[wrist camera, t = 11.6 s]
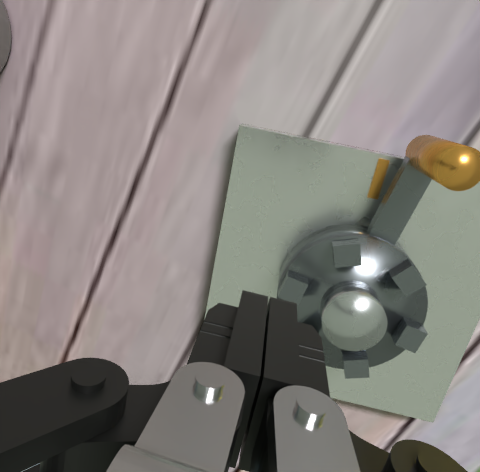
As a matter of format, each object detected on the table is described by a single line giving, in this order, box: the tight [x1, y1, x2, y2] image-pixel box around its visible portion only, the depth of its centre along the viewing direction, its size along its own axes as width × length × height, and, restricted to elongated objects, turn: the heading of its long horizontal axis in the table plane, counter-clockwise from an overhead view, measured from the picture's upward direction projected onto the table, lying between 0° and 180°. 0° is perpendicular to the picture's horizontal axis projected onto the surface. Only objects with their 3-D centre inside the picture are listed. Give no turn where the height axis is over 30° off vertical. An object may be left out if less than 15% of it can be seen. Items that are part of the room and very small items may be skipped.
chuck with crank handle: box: [277, 135, 480, 379], centre depth 29 cm, size 19×11×8 cm, turn 159°
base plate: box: [204, 124, 480, 422], centre depth 35 cm, size 22×22×2 cm
